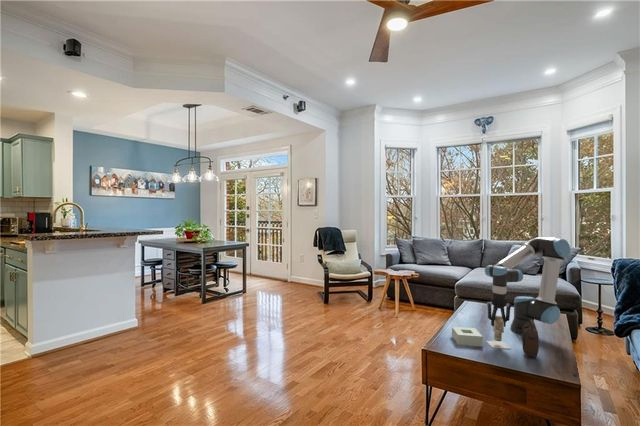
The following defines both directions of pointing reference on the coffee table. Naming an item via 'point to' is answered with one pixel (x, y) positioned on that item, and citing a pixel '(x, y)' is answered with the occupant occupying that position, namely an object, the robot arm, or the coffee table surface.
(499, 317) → the peg
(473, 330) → the socket block
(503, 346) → the coaster
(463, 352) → the coffee table surface
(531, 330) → the alarm clock
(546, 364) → the coffee table surface
